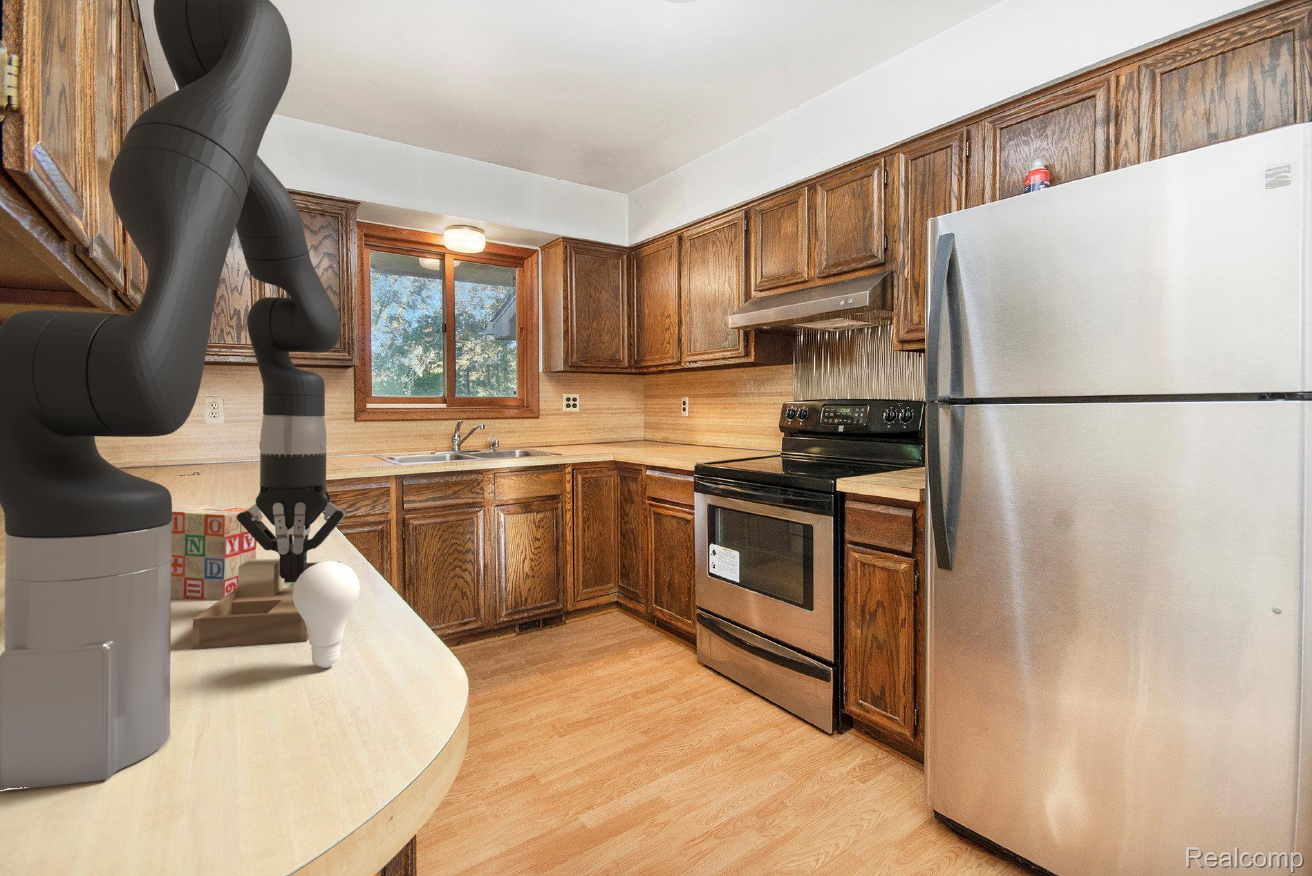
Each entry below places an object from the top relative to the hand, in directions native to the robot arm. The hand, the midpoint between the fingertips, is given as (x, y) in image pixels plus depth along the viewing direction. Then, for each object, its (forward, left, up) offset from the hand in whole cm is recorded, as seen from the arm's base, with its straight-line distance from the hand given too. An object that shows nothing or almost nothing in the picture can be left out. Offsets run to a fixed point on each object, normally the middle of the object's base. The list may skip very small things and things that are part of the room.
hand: (292, 580), depth 81 cm
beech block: (+1, +4, -2) cm, 4 cm away
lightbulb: (-21, -8, -4) cm, 23 cm away
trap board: (-2, +1, -4) cm, 5 cm away
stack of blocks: (+14, +19, -5) cm, 24 cm away
